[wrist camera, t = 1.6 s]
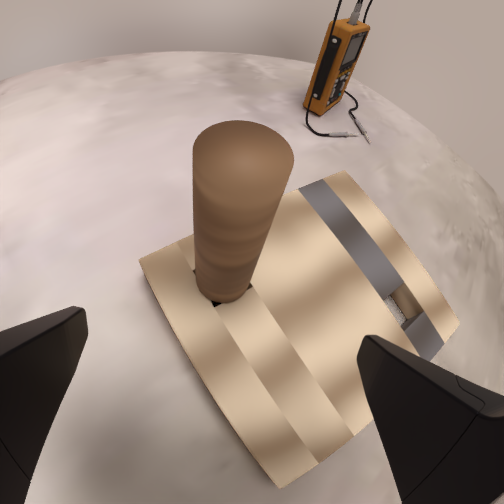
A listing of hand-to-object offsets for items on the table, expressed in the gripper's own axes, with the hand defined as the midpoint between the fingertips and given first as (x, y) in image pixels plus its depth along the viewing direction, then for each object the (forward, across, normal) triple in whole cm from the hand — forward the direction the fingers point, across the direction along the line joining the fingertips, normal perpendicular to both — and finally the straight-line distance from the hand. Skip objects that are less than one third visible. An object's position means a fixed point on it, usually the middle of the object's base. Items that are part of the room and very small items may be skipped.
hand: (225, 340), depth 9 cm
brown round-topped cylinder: (+13, 0, +4) cm, 14 cm away
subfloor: (+12, -7, +5) cm, 15 cm away
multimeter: (+31, -14, -13) cm, 37 cm away
